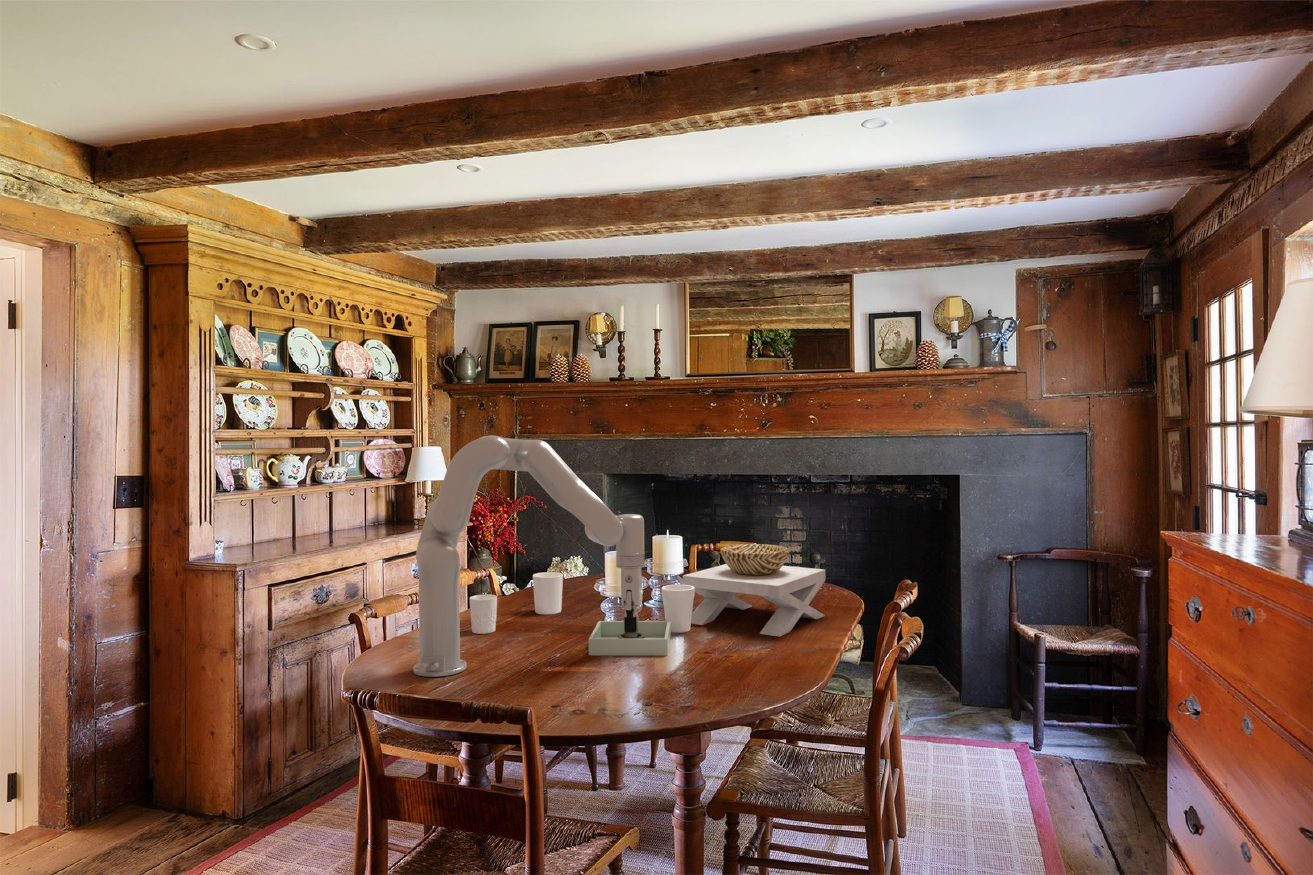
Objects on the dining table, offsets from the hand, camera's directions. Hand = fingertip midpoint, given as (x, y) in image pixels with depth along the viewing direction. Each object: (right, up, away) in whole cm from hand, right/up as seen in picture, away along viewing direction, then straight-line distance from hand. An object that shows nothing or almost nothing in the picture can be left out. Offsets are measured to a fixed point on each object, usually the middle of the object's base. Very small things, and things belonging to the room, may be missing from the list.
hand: (631, 629), depth 212 cm
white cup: (-44, -6, +22) cm, 49 cm away
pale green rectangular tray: (0, -5, 0) cm, 5 cm away
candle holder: (-28, -6, +47) cm, 55 cm away
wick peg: (0, -3, 0) cm, 3 cm away
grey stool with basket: (+37, -5, +33) cm, 50 cm away
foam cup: (+13, -5, +16) cm, 21 cm away
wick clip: (0, -4, 0) cm, 4 cm away
